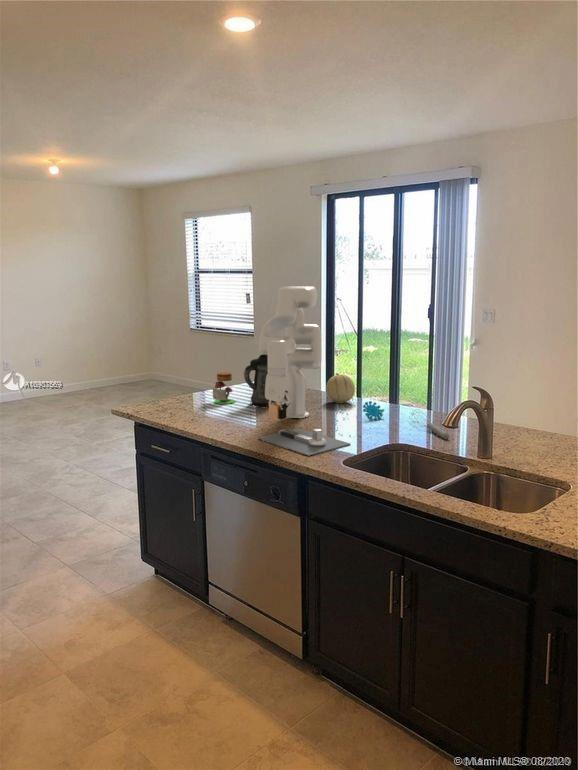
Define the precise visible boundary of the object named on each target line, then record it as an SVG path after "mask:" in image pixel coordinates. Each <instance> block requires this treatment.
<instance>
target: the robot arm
mask: <svg viewBox="0 0 578 770" xmlns="http://www.w3.org/2000/svg"><path fill="white" fill-rule="evenodd" d="M318 297H319V296H318V291H317V289H316V287H315V286H303V285H302V286H300V285H299V286H298V285H297V286H296V285H293V286H292V285H291V286H282V287H280V288H278V290H277V298H278V299H277V304H276V308H275V314H274V316H272V317H271V318H270V319H269V320H267V321H266V323H264V325H263V327H262V329H261V332H260V337H259V342H258V350H259V352H260V353H261V355H268V374H267V376H266V382H265V398H266V399H267V401H268V403H274V402H278V403H279V405H280V409H279V419H280V421H283V420H282V419H284V420H287V419H291V418H299V419H306V418H308V417H309V416H310V413H309V412H308V411H306V410H307V409H306V404H307V403H306V393H307V391H306V388H307V387H306V384H307V383H306V380H307V379H306V376H305V374H304V373H303V372H302V370H318V369H319V368H320V367H321V365H322V332H321V327H320V326H319V325H317V324H315V323H312V324H311V323H305V311H304V309H311V308H313V307H315V305H316V304H317V302H318ZM283 329H285V336H283V335H282V336H279V335H272V334H274V333H275V332H277V331H281V330H283ZM297 346H310V347H297ZM282 403H284V404H283V405H282ZM286 409H287V419H286ZM305 417H306V418H305Z"/></svg>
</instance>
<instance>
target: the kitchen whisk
mask: <svg viewBox="0 0 578 770" xmlns="http://www.w3.org/2000/svg"><path fill="white" fill-rule="evenodd" d="M417 410H419V411H417ZM416 413H417V414H420V413H421V414H420V416H419V415H417V414H416ZM415 414H416V415H415ZM422 414H423V415H425V417H426V418H427V420H428V422H427V420H426V418H425V417H424V416H423V415H422ZM416 416H417V417H416ZM410 417H414V419H415V420H419V421H421V422H422V423H424V424H421V427H423V428H424V427H426V428H427V429H429V430H430V431H432V432H433V433H435V434H436V435H438V436H439V437H440V438H441V439H443V438H444V439H443V440H445V439H447V440H448V441H450V435H449V434H448V432H446V431H445V430H443V429H441V428H440V427H439V426H437V425H436V424H435V423H433V422H431V420H430V418H429V417H428V415H426V414H425V412H422V411H420V409H418V408H417V409H412V412H411V413H410V415H409V417H408V418H409V419H410V420H411V421H412V423H413V422H414V423H415V421H414V420H413V419H412V418H410ZM419 418H421V419H423V420H424V421H423V420H421V419H419ZM425 421H426V422H427V423H426V422H425ZM417 424H419V425H420V423H419V422H417ZM425 424H426V425H425Z"/></svg>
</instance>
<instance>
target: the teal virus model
mask: <svg viewBox="0 0 578 770" xmlns="http://www.w3.org/2000/svg"><path fill="white" fill-rule="evenodd" d="M372 403H373V404H372ZM362 408H363V410H362V411H363V413H365V416H366V417H367V418H368V419H370V420H372V419H373V420H374V421H377V420H381V419H382V417H383V416H384V414H383V413H384V412H385V409H384V408H382V409H381V405H379V404H378V405H377V402H374V401H373V402H372V401H371V400H370V401H366V402H364V404H363V405H362ZM373 417H374V418H373Z"/></svg>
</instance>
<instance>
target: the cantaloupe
mask: <svg viewBox="0 0 578 770" xmlns="http://www.w3.org/2000/svg"><path fill="white" fill-rule="evenodd" d="M325 387H326V388H325V390H326V391H325V392H326V394H327V397H328V398H329V400H330V401H332V402H334V403H337V404H341V403H342V404H345V403H347V402H349V401H350V400H352V399H353V398H354V396H355V393H356V387H355V382H354V381H353V379H352V378H351V377H349V376H348V375H346V374H339V373H335V375H333V376H331V377H330V378H329V379H328V380H327V383H326V386H325Z"/></svg>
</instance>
